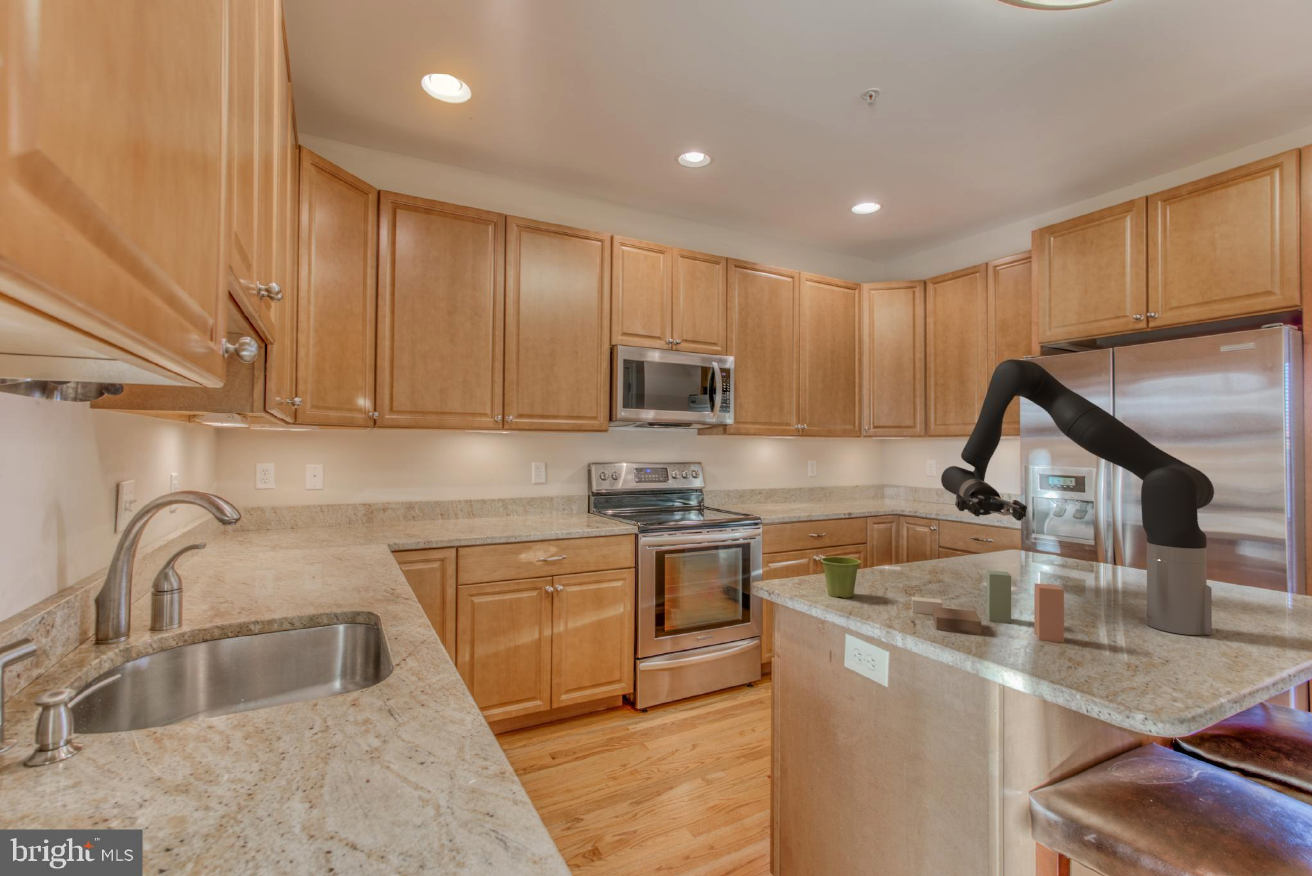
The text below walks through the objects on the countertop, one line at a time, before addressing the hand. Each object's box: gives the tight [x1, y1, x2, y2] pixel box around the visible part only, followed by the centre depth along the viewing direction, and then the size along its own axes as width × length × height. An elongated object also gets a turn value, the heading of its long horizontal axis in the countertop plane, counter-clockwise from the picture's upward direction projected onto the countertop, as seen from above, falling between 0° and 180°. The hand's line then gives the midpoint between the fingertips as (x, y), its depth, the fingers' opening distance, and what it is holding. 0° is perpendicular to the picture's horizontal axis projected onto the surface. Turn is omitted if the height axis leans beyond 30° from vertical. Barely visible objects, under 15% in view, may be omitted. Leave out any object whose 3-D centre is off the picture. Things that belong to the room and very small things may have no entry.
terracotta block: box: [1033, 583, 1065, 643], centre depth 115 cm, size 4×4×10 cm
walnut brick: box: [932, 607, 982, 636], centre depth 122 cm, size 8×8×3 cm
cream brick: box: [911, 596, 943, 616], centre depth 132 cm, size 6×3×3 cm, turn 70°
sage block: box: [985, 569, 1012, 624], centre depth 127 cm, size 4×4×10 cm
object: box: [820, 556, 861, 599], centre depth 146 cm, size 9×9×9 cm
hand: (999, 514), depth 134 cm, fingers open, 8 cm apart
